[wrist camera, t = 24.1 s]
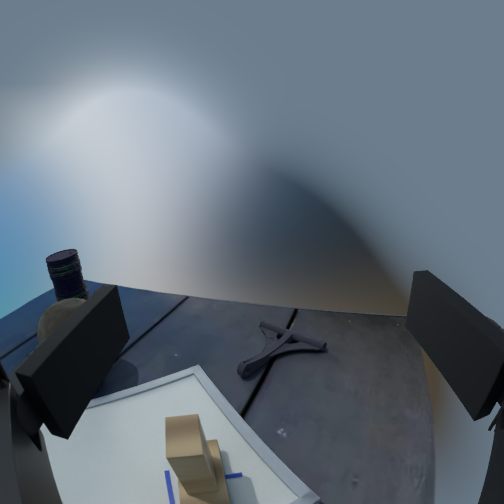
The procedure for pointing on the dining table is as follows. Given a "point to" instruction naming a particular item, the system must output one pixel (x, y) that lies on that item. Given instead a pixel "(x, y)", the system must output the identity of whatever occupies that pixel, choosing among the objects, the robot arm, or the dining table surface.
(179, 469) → the eraser
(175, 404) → the board
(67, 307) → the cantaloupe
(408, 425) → the dining table surface
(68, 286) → the storage jar
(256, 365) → the bracket
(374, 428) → the dining table surface
